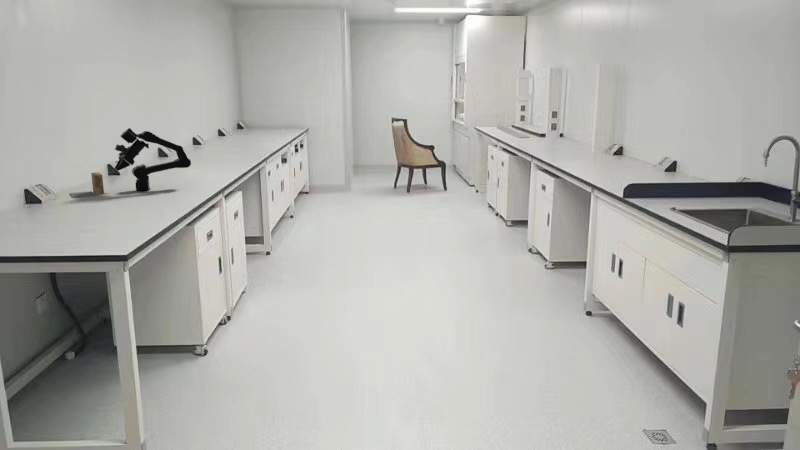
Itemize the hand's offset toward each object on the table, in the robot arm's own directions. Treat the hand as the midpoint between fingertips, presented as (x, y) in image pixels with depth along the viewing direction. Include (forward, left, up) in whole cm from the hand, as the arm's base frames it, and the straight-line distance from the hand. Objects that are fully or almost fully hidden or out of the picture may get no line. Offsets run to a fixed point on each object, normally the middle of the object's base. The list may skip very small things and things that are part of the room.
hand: (115, 169), depth 346 cm
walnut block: (+9, +4, -13) cm, 16 cm away
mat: (+16, +8, -13) cm, 22 cm away
